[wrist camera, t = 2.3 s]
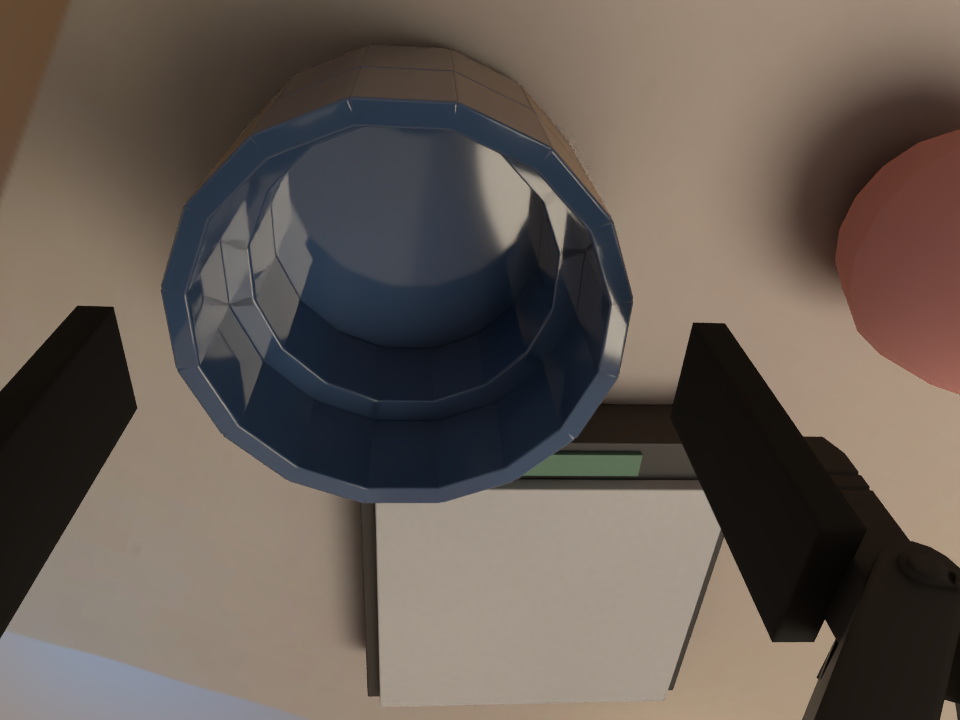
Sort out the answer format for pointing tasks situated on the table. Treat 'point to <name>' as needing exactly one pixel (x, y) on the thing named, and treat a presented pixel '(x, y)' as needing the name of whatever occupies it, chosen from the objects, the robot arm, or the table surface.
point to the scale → (545, 576)
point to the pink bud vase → (908, 260)
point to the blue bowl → (398, 281)
